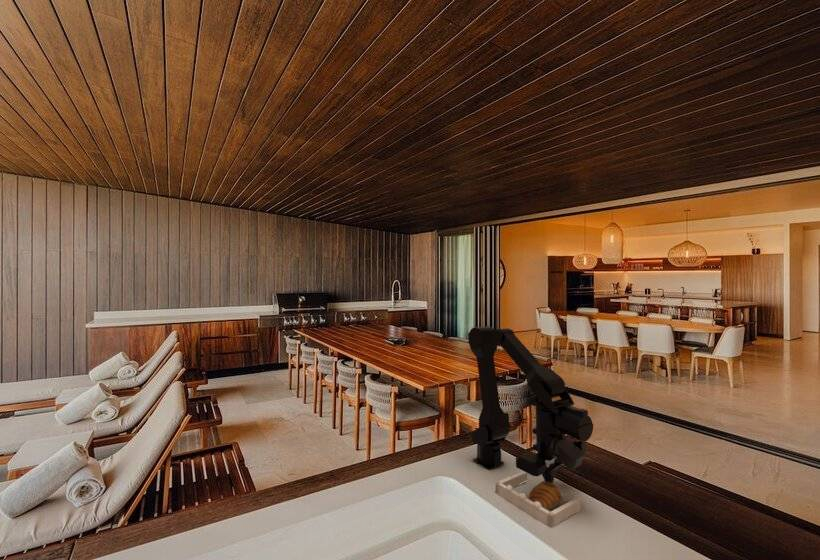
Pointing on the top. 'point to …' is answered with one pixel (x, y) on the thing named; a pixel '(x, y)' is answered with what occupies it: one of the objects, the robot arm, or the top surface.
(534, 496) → the pastry
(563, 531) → the top surface
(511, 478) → the frame
